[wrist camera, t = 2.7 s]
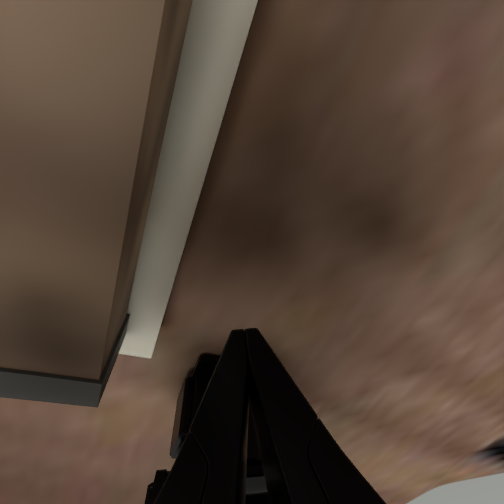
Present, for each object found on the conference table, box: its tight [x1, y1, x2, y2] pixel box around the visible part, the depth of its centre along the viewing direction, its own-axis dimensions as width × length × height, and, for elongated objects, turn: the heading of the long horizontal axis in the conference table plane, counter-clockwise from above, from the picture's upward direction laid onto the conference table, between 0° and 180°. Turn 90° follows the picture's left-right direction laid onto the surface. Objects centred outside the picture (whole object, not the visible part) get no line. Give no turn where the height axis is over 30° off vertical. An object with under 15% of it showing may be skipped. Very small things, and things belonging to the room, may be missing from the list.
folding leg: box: [0, 0, 193, 407], centre depth 8 cm, size 19×4×5 cm, turn 159°
